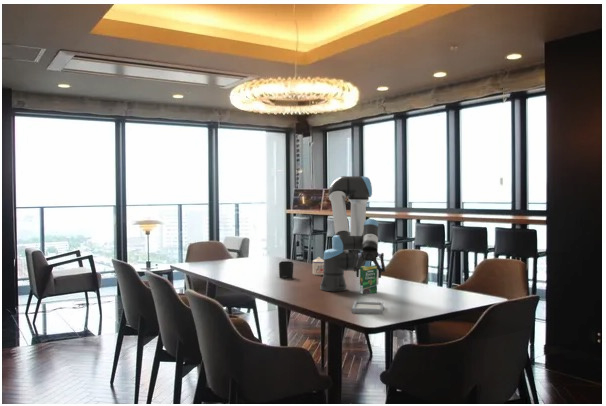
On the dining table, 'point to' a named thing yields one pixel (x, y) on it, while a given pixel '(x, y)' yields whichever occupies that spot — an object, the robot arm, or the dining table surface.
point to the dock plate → (367, 307)
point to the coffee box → (368, 280)
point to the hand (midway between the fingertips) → (368, 282)
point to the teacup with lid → (318, 266)
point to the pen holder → (286, 269)
